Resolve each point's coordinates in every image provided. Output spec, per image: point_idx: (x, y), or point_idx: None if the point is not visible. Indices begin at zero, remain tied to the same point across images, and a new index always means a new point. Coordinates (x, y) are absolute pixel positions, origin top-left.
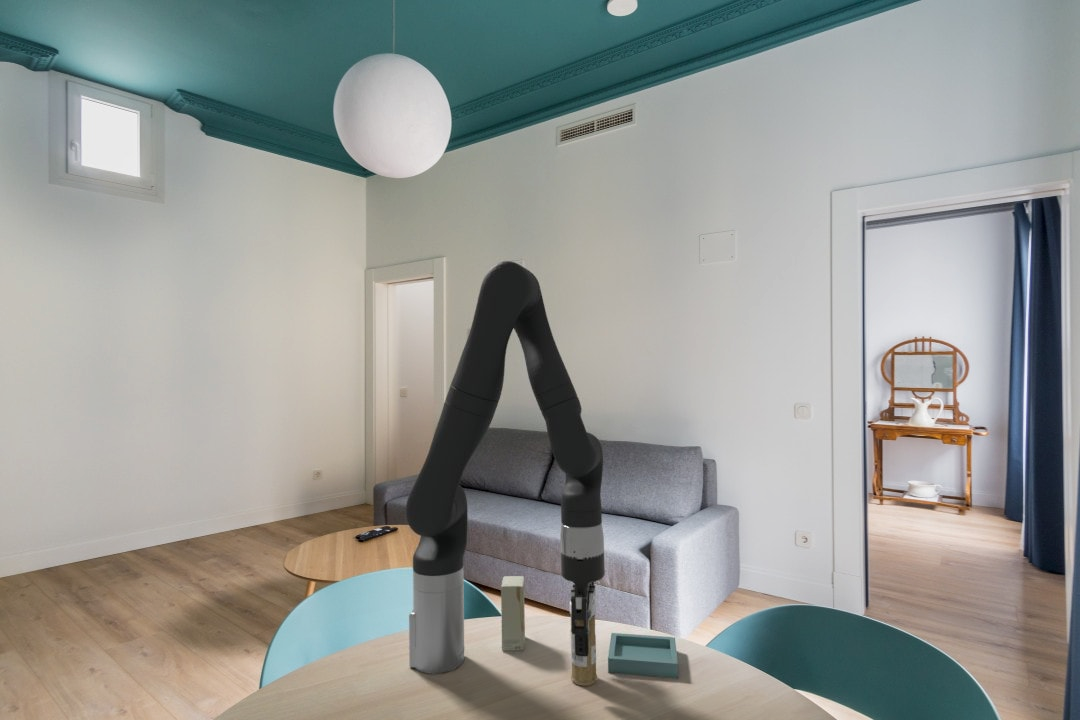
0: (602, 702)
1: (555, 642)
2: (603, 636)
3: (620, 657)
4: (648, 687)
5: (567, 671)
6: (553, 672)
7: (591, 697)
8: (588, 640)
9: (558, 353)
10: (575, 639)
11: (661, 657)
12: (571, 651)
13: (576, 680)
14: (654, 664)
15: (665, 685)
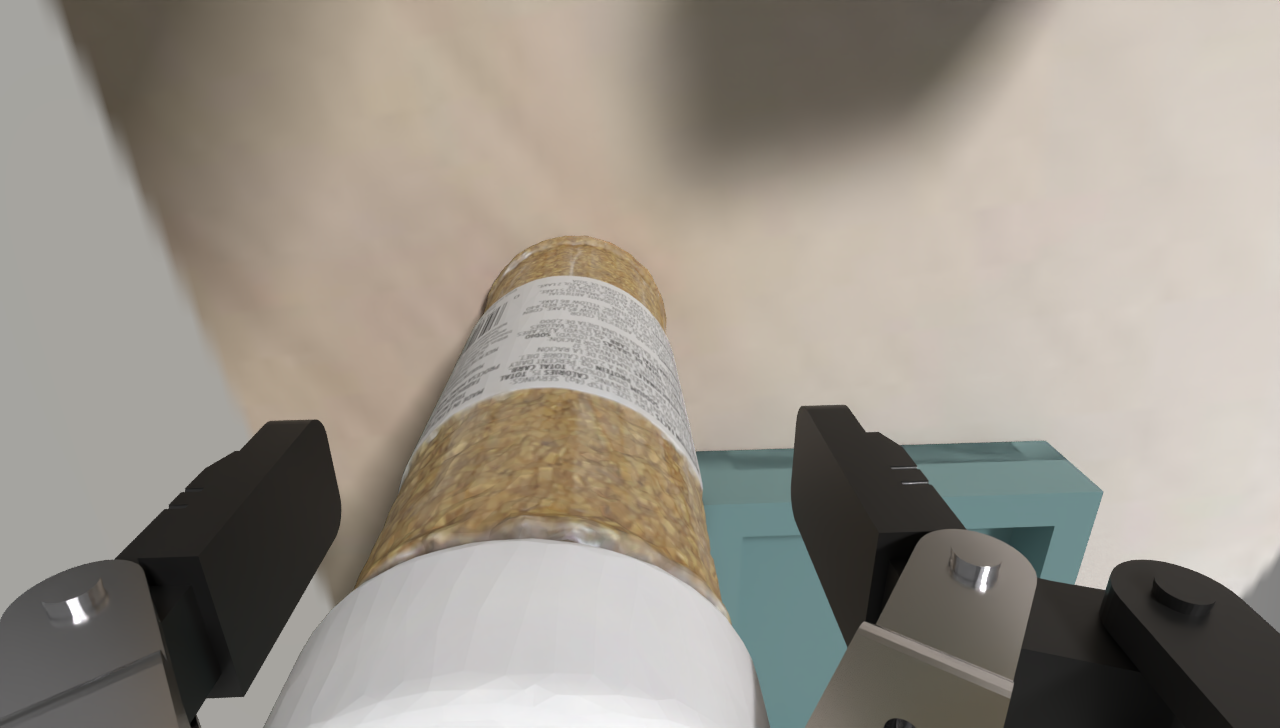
0: (353, 451)
1: (1149, 3)
2: (1195, 376)
3: (725, 574)
4: None
5: (671, 189)
6: (639, 79)
7: (385, 388)
8: (284, 619)
9: None
10: (191, 513)
11: None
12: (507, 316)
13: (493, 290)
14: None
15: None
